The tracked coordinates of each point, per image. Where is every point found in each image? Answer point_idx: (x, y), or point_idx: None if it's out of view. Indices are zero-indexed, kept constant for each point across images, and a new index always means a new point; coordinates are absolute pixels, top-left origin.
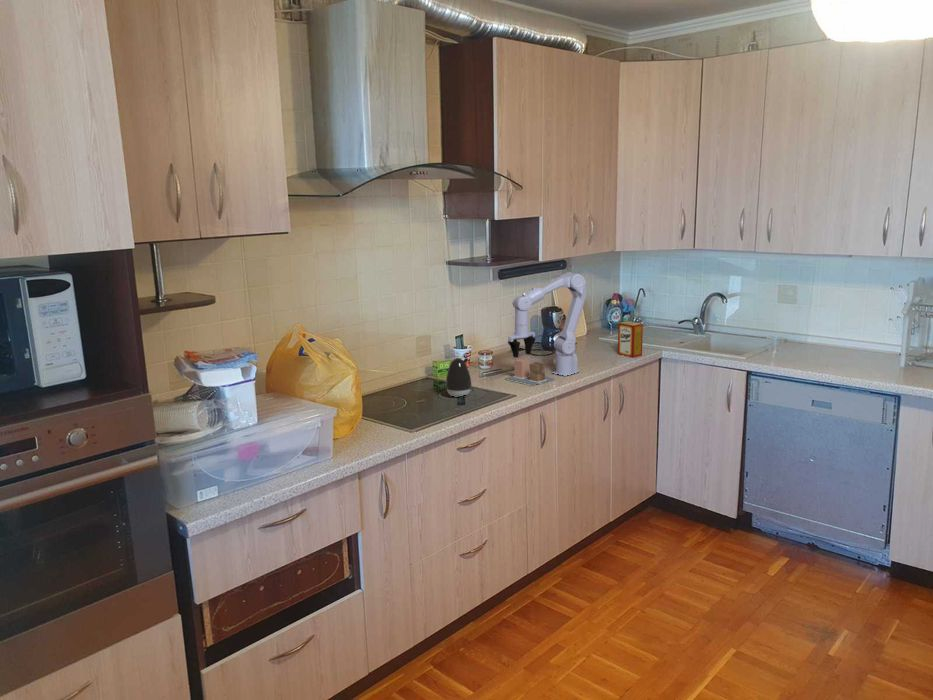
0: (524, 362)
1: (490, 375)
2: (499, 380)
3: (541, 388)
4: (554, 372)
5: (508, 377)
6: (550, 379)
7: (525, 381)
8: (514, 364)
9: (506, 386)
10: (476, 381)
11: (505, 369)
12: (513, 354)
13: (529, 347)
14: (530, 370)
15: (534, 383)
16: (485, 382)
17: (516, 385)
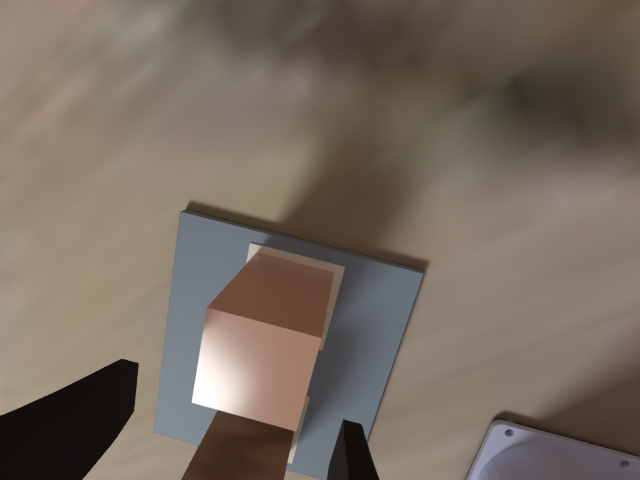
0: (230, 405)
1: (228, 25)
2: (147, 184)
3: (153, 475)
4: (503, 438)
5: (214, 223)
6: (315, 474)
7: (191, 369)
8: (223, 290)
9: (63, 300)
10: (19, 38)
11: (488, 19)
12: (94, 380)
13: None
14: (204, 439)
15: (184, 430)
16: (44, 122)
17: (118, 341)
